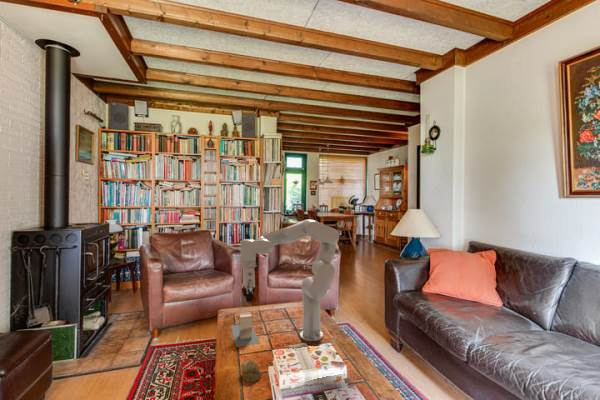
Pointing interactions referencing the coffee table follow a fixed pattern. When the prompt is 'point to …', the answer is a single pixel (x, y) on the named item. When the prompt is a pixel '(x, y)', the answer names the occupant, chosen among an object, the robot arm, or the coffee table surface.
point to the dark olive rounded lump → (250, 371)
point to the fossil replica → (298, 345)
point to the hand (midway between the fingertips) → (248, 298)
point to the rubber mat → (243, 342)
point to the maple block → (245, 326)
